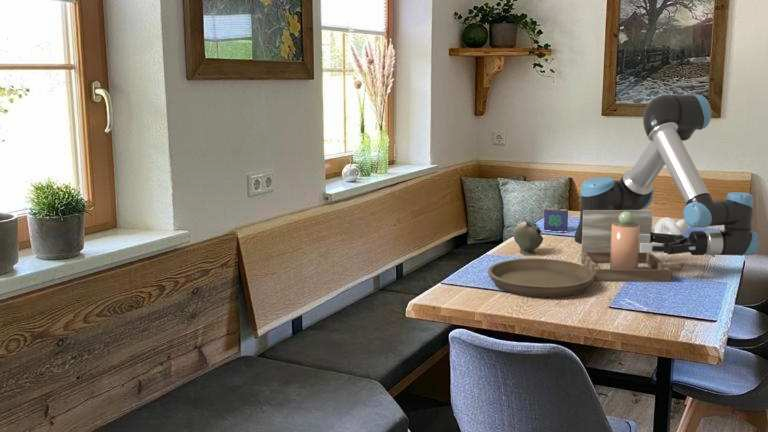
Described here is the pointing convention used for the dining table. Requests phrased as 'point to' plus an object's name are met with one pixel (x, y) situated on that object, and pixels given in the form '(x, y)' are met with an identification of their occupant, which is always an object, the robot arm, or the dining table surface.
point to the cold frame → (599, 247)
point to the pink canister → (624, 243)
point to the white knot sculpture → (671, 226)
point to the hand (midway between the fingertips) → (634, 243)
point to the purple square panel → (556, 219)
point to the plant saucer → (541, 277)
